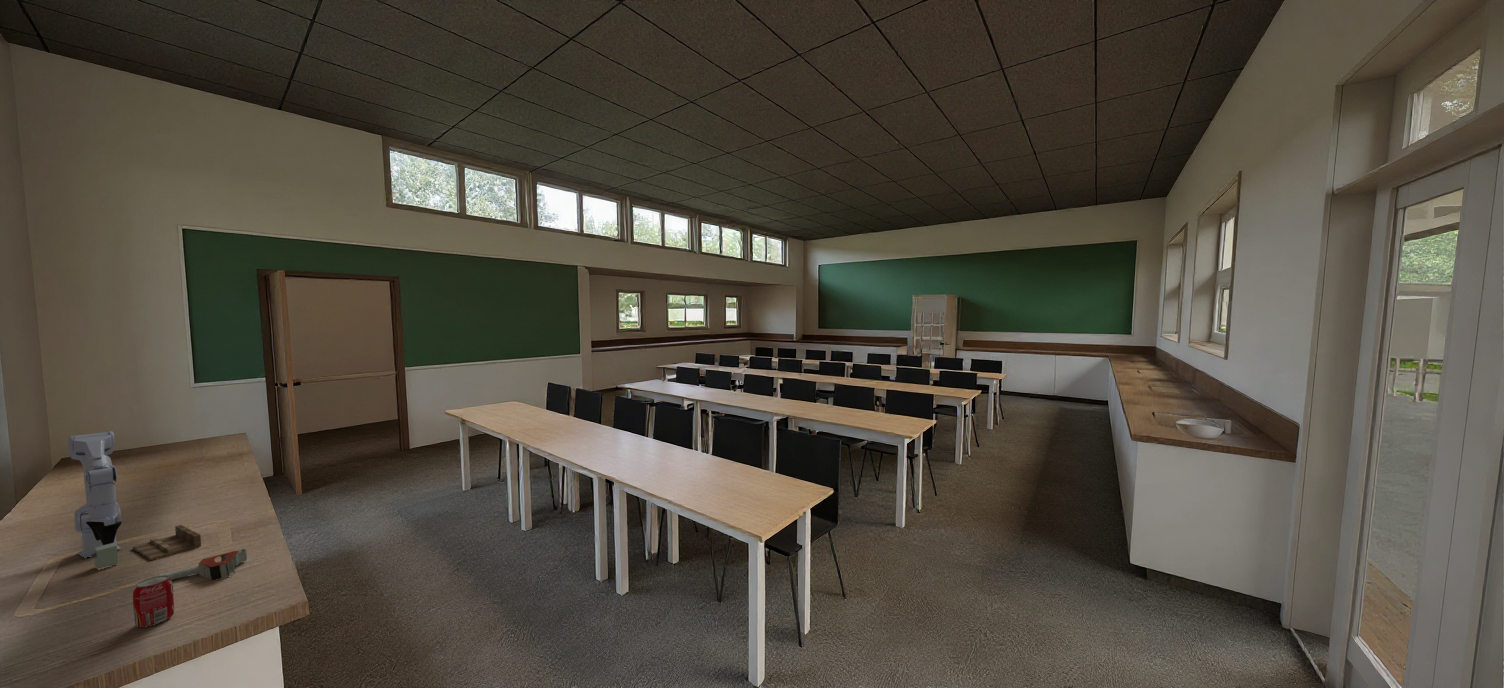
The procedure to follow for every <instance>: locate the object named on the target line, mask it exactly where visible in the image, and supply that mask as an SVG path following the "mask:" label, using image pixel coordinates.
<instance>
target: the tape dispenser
mask: <svg viewBox="0 0 1504 688" xmlns="http://www.w3.org/2000/svg"><path fill="white" fill-rule="evenodd" d="M217 558H220V561H219V562H216V561H215V559H217ZM247 559H248V556H247V549H246V548H242V549H238V550H233V551H230V552H226V553H221V554H217V555H214V556H210V557H206V558H203V559H201V560H200V561H199V562H198V565H195V566H192V567H188V568H186V567H185V568H183V569H182V568H181V569H178V570H174V571H170V572H167V573H159V574H158V575H157V576H162V575H167V576H169V579H170V580H172V581H173V580H177V579H182V578H185V577H188V576H192V575H195V574H199V577H202V576H203V578H205V577H206V578H205V579H208V577H209V578H210V579H211V580H212V579H213V580H212V581H217V580H216V579H218V580H222V579H221V578H223V579H227V578H226V577H228V578H230V577H229V576H231V575H232V574H233V575H235V573H236V570H235V567H237V565H238V566H239V565H240V563H242V562H247ZM233 575H232V576H233ZM232 576H231V577H232Z"/></svg>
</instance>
